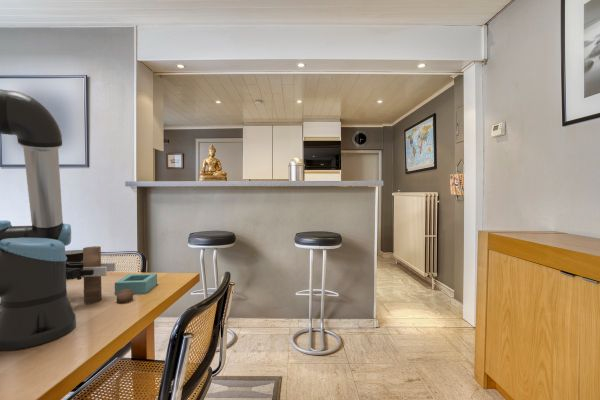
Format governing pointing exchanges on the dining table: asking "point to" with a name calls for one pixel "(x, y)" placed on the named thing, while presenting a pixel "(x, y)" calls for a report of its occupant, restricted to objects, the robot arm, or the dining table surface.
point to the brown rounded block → (124, 296)
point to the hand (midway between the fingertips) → (110, 269)
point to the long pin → (93, 282)
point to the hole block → (137, 283)
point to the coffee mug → (74, 256)
